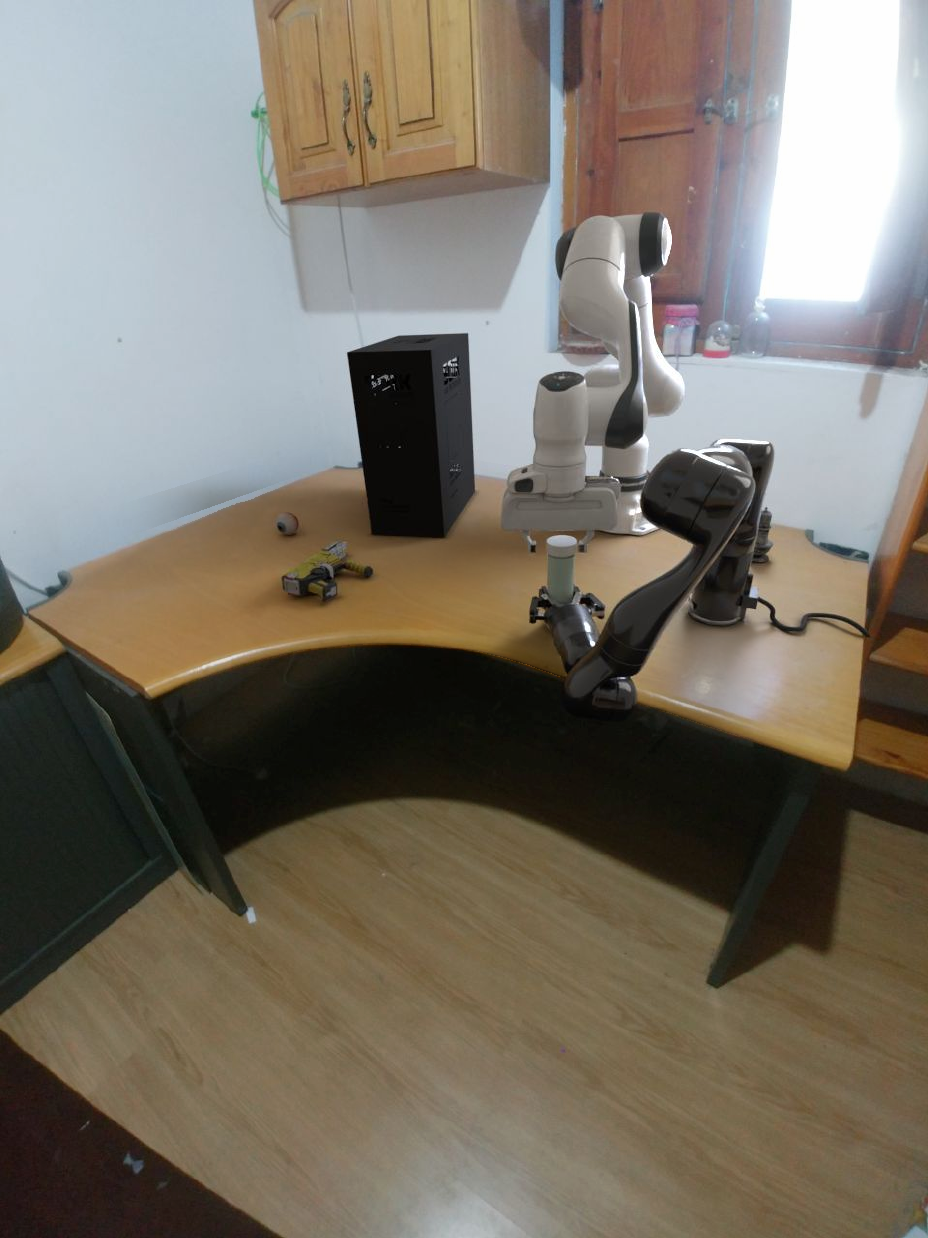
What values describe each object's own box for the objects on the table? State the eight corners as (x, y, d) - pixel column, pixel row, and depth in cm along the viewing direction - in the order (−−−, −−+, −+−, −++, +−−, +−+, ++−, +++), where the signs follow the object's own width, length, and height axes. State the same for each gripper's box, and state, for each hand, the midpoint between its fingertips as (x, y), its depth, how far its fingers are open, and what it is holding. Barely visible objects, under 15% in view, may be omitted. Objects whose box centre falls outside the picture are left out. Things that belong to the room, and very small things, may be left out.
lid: (552, 543, 112) (552, 533, 111) (580, 547, 109) (580, 537, 108) (542, 554, 108) (542, 544, 107) (570, 559, 105) (571, 548, 104)
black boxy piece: (444, 537, 157) (431, 349, 135) (371, 534, 162) (346, 352, 139) (475, 491, 189) (468, 332, 166) (413, 489, 193) (398, 335, 171)
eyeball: (273, 537, 164) (268, 516, 161) (287, 528, 169) (282, 508, 166) (291, 539, 161) (286, 518, 158) (305, 530, 166) (301, 510, 163)
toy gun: (389, 548, 145) (334, 537, 149) (339, 588, 125) (277, 575, 129) (389, 566, 147) (335, 555, 151) (340, 608, 127) (279, 595, 131)
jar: (554, 633, 114) (556, 552, 105) (542, 622, 118) (543, 542, 109) (576, 628, 115) (580, 547, 107) (563, 616, 119) (566, 537, 111)
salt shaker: (772, 562, 134) (784, 511, 128) (744, 561, 136) (754, 511, 130) (766, 552, 139) (777, 502, 133) (739, 551, 140) (749, 501, 134)
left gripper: (619, 469, 103) (614, 544, 110) (500, 472, 106) (502, 545, 113) (624, 481, 98) (617, 558, 105) (498, 483, 100) (500, 559, 107)
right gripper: (619, 613, 99) (595, 569, 114) (533, 619, 99) (520, 574, 114) (616, 651, 103) (593, 603, 117) (532, 657, 103) (520, 608, 117)
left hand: (557, 551), depth 109 cm, fingers open, 8 cm apart
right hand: (557, 589), depth 115 cm, fingers closed on jar, 5 cm apart
